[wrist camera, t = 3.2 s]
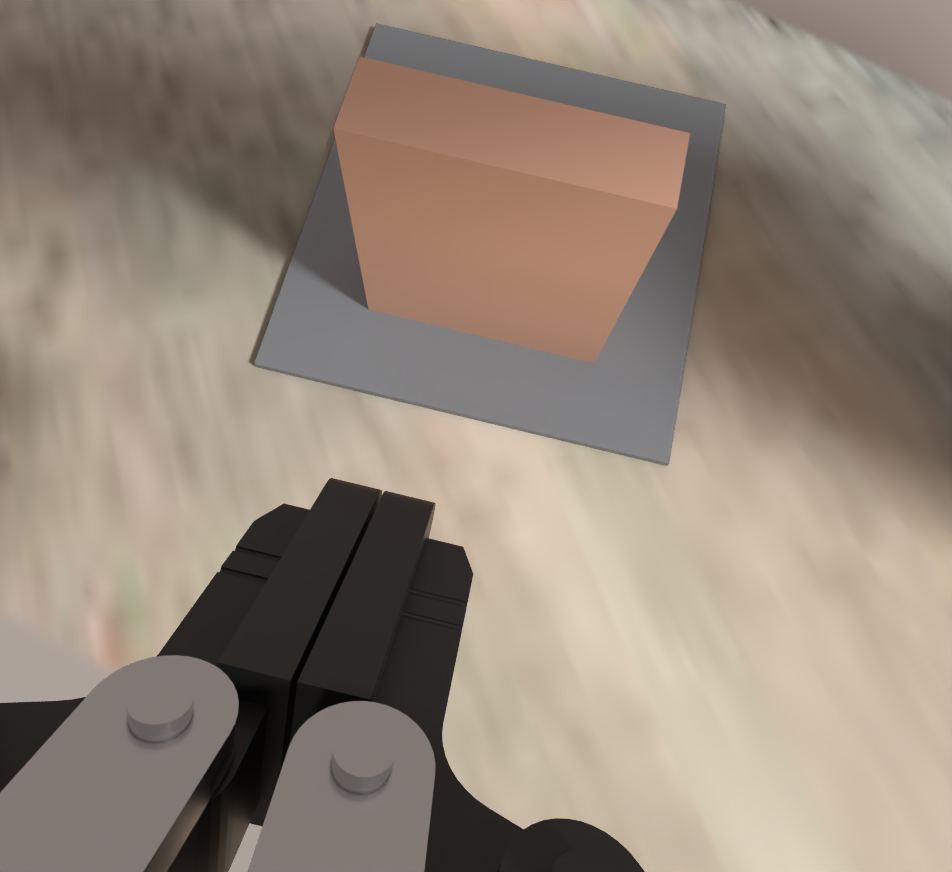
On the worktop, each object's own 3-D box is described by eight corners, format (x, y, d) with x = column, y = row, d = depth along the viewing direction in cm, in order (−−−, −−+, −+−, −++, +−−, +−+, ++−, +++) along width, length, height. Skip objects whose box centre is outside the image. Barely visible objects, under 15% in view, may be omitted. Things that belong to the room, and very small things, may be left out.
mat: (723, 109, 32) (725, 104, 32) (666, 465, 27) (668, 463, 27) (377, 29, 32) (376, 23, 32) (256, 366, 27) (254, 363, 27)
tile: (605, 306, 28) (690, 128, 19) (593, 363, 28) (677, 208, 18) (385, 253, 29) (360, 51, 19) (368, 309, 28) (333, 128, 18)
